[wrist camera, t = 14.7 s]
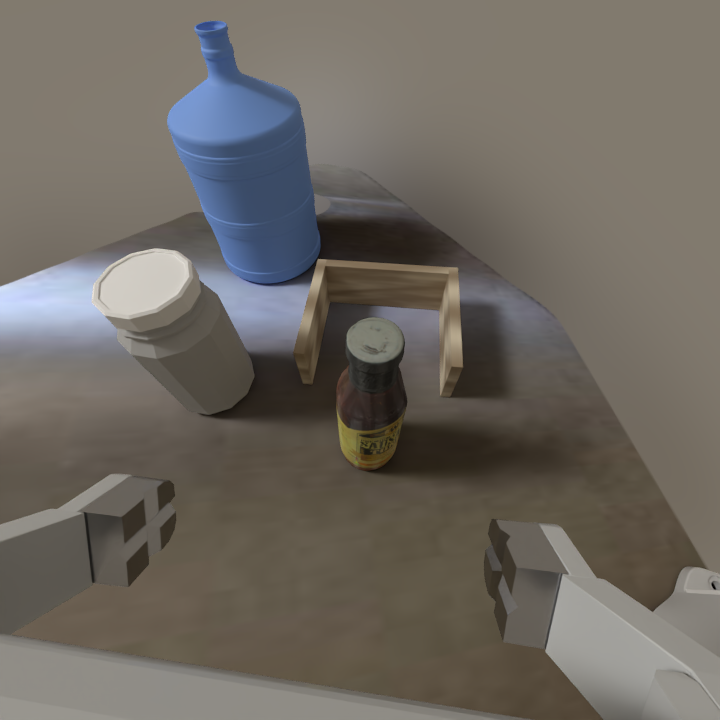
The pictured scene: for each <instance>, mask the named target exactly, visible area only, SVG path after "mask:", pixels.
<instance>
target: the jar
mask: <svg viewBox="0 0 720 720" xmlns="http://www.w3.org/2000/svg"><path fill="white" fill-rule="evenodd" d="M92 303H93V304H94V305H95V306H96V307H97V308H98V309H99V310H100V311H101V313H102V314H103V315H104V316H105V317H106V318H107V319H108V320H109V321H110V322H111V323H112V324H113V325H114V326H115V327H116V328H117V329H118V332H117V340H118V341H119V342H120V343H121V344H122V345H123V346H124V348H125V349H126V350H127V351H128V352H129V353H130V354H131V355H132V356H133V357H134V358H135V359H136V360H137V361H138V362H139V363H140V364H141V365H142V366H143V367H144V368H145V369H146V370H147V371H149V372H150V373H151V374H152V375H153V376H154V377H155V378H156V379H157V380H158V381H159V382H160V383H161V384H162V385H163V386H164V387H165V388H166V389H167V390H168V391H169V392H170V393H171V394H172V395H173V396H174V397H175V398H176V399H177V400H178V401H179V402H180V403H181V404H182V405H183V406H184V407H185V408H186V409H187V410H188V411H191V412H196V413H202V414H207V415H210V414H213V413H217V412H220V411H223V410H227V409H230V408H232V407H233V406H234V405H235V404H236V403H237V402H239V401H240V400H241V399H242V398H243V397H244V396H245V395H247V394H248V391H249V389H250V386H251V384H252V381H253V379H254V377H255V375H254V370H253V366H252V361H251V358H250V356H249V355H248V353H247V351H246V349H245V347H244V345H243V343H242V341H241V339H240V337H239V335H238V333H237V331H236V329H235V328H234V326H233V324H232V322H231V320H230V318H229V316H228V314H227V312H226V310H225V308H224V306H223V304H222V302H221V300H220V299H219V297H218V295H217V294H216V293H215V292H213V291H212V290H211V289H210V288H208V287H207V286H206V285H204V283H202V282H201V281H200V280H199V275H198V273H197V271H196V269H195V268H194V266H193V264H192V262H191V261H190V260H189V259H187V258H186V257H185V256H183V255H182V254H181V253H180V252H178V251H174V250H166V249H157V248H155V249H150V250H145V251H141V252H136V253H132V254H129V255H127V256H126V257H124V258H122V259H120V260H119V261H117V262H115V263H113V264H112V265H110V266H108V267H107V269H106V270H105V271H104V272H103V273H102V275H101V276H100V277H99V278H98V279H97V281H96V282H95V283H94V284H93V293H92Z"/></svg>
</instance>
